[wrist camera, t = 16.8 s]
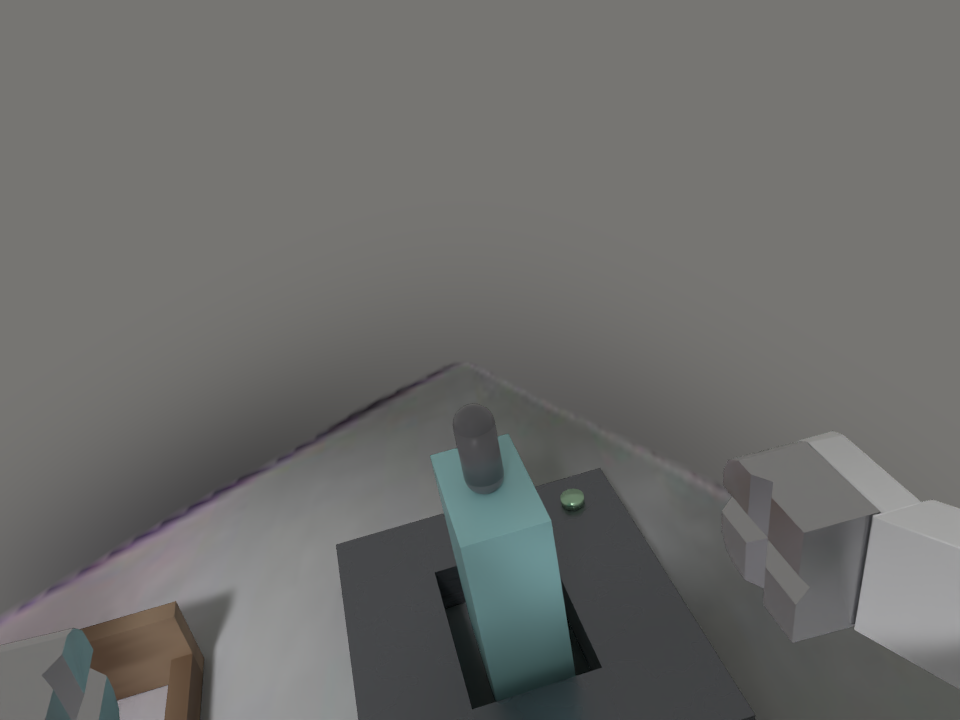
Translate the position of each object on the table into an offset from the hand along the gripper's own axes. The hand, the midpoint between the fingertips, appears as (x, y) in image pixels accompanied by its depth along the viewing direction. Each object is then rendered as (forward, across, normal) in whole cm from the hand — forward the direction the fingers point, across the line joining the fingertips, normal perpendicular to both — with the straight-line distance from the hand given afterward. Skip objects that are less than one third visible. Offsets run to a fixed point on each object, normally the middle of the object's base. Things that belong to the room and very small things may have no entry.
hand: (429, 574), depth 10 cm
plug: (+18, -4, +23) cm, 29 cm away
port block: (+18, -4, +23) cm, 29 cm away
